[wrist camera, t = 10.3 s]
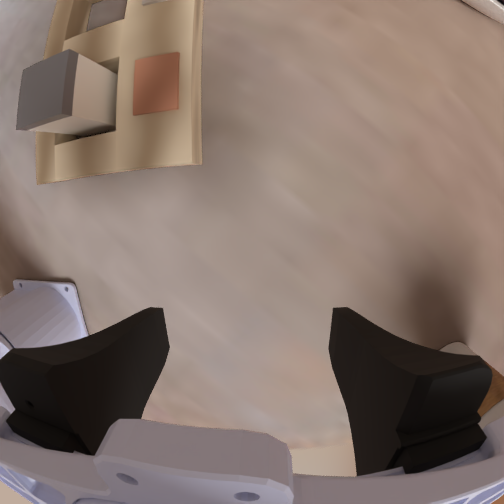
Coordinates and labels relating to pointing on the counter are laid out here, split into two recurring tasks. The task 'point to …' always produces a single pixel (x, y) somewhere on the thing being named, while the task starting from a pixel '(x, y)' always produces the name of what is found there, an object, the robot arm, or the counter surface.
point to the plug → (67, 96)
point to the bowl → (489, 8)
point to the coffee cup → (498, 397)
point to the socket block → (132, 89)
